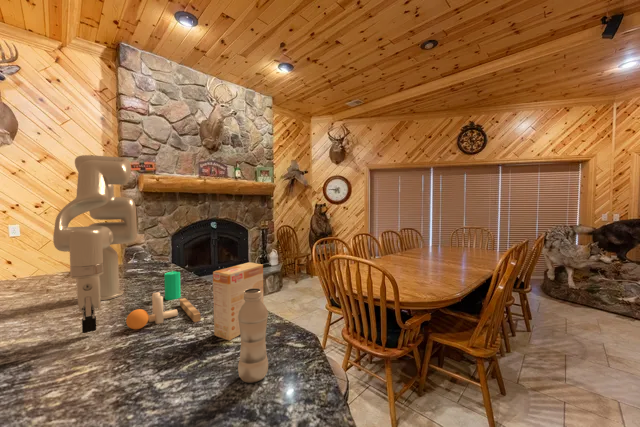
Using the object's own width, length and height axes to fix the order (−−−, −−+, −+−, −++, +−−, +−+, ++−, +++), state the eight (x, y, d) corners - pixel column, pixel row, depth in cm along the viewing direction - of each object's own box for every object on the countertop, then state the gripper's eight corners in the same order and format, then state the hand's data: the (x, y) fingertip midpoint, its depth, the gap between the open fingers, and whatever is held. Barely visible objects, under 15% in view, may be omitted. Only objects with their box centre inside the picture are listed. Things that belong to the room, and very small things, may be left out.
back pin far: (152, 317, 98) (151, 293, 97) (160, 315, 99) (159, 291, 99) (153, 319, 96) (152, 295, 95) (161, 317, 97) (160, 293, 97)
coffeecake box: (249, 317, 97) (248, 261, 96) (264, 322, 93) (264, 264, 93) (212, 335, 84) (211, 270, 83) (229, 341, 81) (228, 274, 80)
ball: (148, 316, 94) (126, 319, 91) (149, 304, 91) (127, 306, 88) (148, 331, 90) (125, 335, 86) (149, 318, 87) (126, 321, 84)
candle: (174, 300, 115) (173, 271, 114) (161, 299, 116) (160, 270, 115) (183, 295, 121) (183, 267, 120) (171, 294, 122) (171, 267, 121)
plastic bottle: (241, 370, 66) (239, 286, 66) (270, 368, 67) (269, 285, 66) (235, 388, 60) (233, 295, 59) (267, 386, 61) (266, 294, 60)
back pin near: (154, 322, 94) (154, 297, 93) (162, 320, 95) (162, 295, 95) (155, 324, 92) (155, 298, 91) (164, 322, 93) (163, 297, 93)
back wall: (179, 305, 109) (179, 299, 109) (185, 304, 110) (185, 297, 110) (194, 322, 93) (194, 314, 93) (200, 320, 95) (200, 313, 95)
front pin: (148, 314, 95) (176, 308, 100) (148, 321, 95) (176, 314, 100) (149, 316, 93) (177, 310, 98) (149, 323, 93) (177, 316, 98)
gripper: (104, 273, 80) (106, 336, 81) (102, 264, 92) (104, 319, 92) (68, 277, 75) (71, 344, 76) (71, 267, 87) (74, 326, 87)
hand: (89, 330), depth 84 cm, fingers closed
